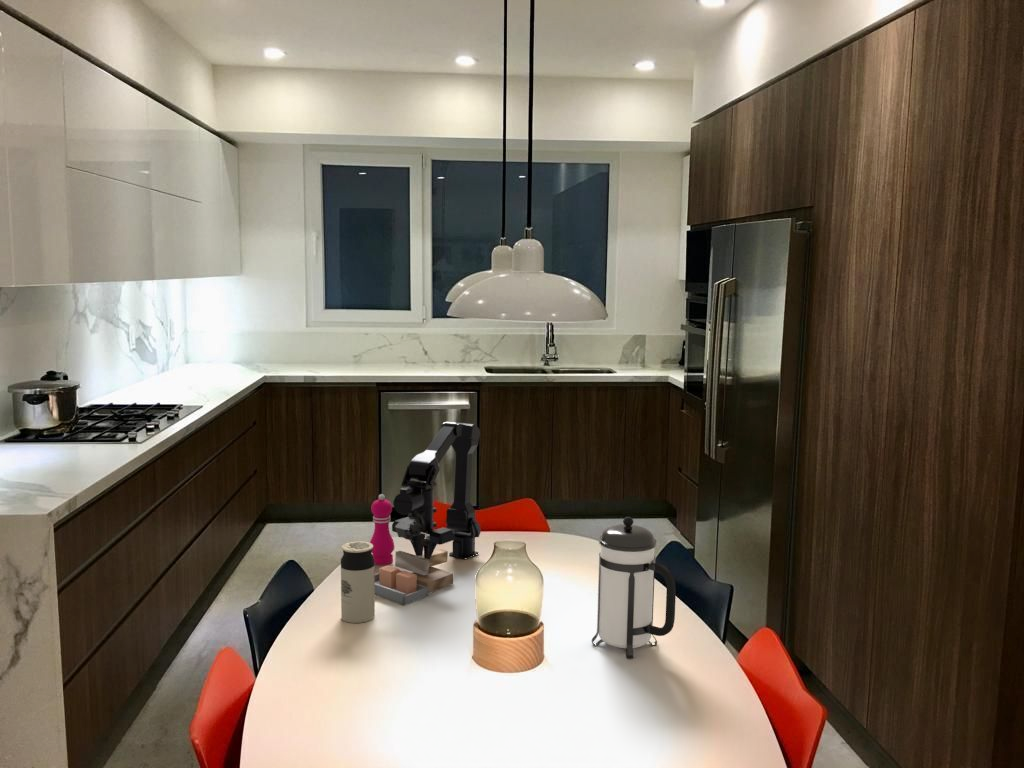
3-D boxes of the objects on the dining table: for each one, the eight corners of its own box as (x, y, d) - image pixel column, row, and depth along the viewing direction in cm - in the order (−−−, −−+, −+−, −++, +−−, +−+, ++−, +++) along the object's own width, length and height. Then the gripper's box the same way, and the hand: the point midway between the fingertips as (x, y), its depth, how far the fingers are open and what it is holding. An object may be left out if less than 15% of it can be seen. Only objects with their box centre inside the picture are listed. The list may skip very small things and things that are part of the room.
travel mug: (366, 608, 217) (366, 538, 215) (380, 619, 210) (379, 547, 208) (336, 615, 213) (335, 544, 210) (348, 626, 206) (348, 553, 204)
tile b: (404, 570, 230) (396, 573, 228) (416, 574, 227) (408, 577, 225) (404, 587, 231) (396, 590, 228) (416, 591, 228) (408, 594, 225)
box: (381, 579, 238) (381, 569, 237) (428, 595, 226) (428, 584, 226) (356, 588, 231) (355, 577, 230) (403, 605, 219) (403, 594, 219)
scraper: (429, 556, 247) (430, 542, 247) (458, 565, 240) (459, 551, 240) (395, 566, 236) (395, 551, 236) (424, 575, 230) (424, 560, 229)
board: (411, 570, 245) (411, 560, 245) (453, 583, 235) (453, 573, 235) (385, 580, 237) (385, 569, 237) (427, 594, 227) (427, 583, 227)
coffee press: (593, 660, 190) (597, 527, 186) (589, 630, 206) (592, 507, 202) (673, 662, 189) (678, 529, 186) (663, 632, 205) (667, 508, 201)
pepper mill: (366, 559, 254) (365, 492, 252) (390, 556, 257) (390, 490, 255) (373, 566, 248) (372, 498, 245) (397, 563, 251) (397, 496, 248)
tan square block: (387, 565, 234) (379, 568, 232) (399, 569, 231) (391, 572, 229) (387, 581, 235) (379, 584, 232) (399, 585, 232) (391, 588, 230)
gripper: (376, 505, 234) (377, 561, 236) (426, 518, 223) (426, 577, 225) (406, 497, 243) (407, 550, 245) (456, 509, 231) (456, 565, 233)
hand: (423, 561), depth 237 cm, fingers closed on scraper, 2 cm apart
